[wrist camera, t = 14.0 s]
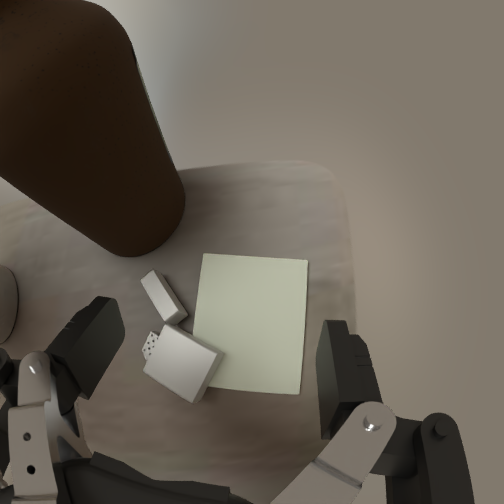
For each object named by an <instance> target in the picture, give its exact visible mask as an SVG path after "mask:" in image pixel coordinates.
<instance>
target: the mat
mask: <svg viewBox="0 0 504 504" xmlns="http://www.w3.org/2000/svg"><path fill="white" fill-rule="evenodd" d="M307 265H308V260H297V259H281V258H266V257H251V256H237V255H222V254H207V253H204V254H203V260H202V267H201V274H200V281H199V289H198V296H197V304H196V312H195V320H194V328H193V336H194V337H196V338H198V339H200V340H202V341H203V342H205V343H207V344H209V345H211V346H213V347H215V348H216V349H218V350H220V351H222V352H224V355H223V357H222V359H221V361H220V363H219V365H218V367H217V369H216V371H215V373H214V375H213V377H212V379H211V381H210V383H209V385H208V386H209V387H216V388H224V389H232V390H241V391H252V392H264V393H278V394H299V391H300V380H301V369H302V357H303V344H304V329H305V312H306V292H307Z"/></svg>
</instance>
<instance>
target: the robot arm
mask: <svg viewBox="0 0 504 504" xmlns="http://www.w3.org/2000/svg"><path fill="white" fill-rule="evenodd" d="M17 304H18V294H17V286H16V282H15V278H14V276H13V274H12V273H11V271H10V270H9V269H8V268H6V267H4V266H2V265H0V343H3V342H4V341H5V340H6V339H7V338H8V336H9V335H10V333H11V331H12V329H13V326H14V323H15V318H16V314H17ZM124 337H125V328H124V325H123V321H122V318H121V314H120V311H119V307H118V304H117V301H116V300H115V299H114V298H108V297H102V296H97V297H96V298H95V299H94V300H93V301H92V302H91V303H90V304H89V306H86V307H85V308H83V309H82V310H80V311H78V312H77V313H76V314H75V315H74V316H73V318H72V319H71V320H70V322H68V323H67V325H66V326H65V329H62V331H61V332H60V333H59V334H58V335H57V337H56V338H55V339H54V340H53V342H52V343H51V344H50V345H49V346H48V348H47V349H46V350H45V351H44V352H43V351H34V352H31V353H29V354H28V355H26V356H25V357H24V358H23V359H22V360H14V359H10V357H9V355H8V354H7V352H6V351H5V350H4V349H2V348H0V392H1V393H2V394H3V396H4V397H5V398H6V401H5V403H4V404H3V406H2V408H1V409H0V504H253V503H251V502H249V501H247V500H246V499H243V498H241V497H239V496H237V495H234V494H231V493H230V487H225V486H218V485H212V484H206V483H200V482H195V481H159V480H153V479H151V478H149V477H147V476H145V475H143V474H142V473H140V472H138V471H137V470H135V469H133V468H132V467H130V466H128V465H127V464H125V463H124V462H121V461H118V460H116V459H113V458H110V457H108V456H105V455H103V454H100V453H98V452H94V454H93V455H92V453H91V451H90V450H89V448H88V446H87V444H86V441H85V437H84V433H83V428H82V424H81V419H80V414H79V408H78V404H77V402H76V399H77V397H78V396H79V397H82V398H85V399H87V400H89V399H90V397H91V395H92V393H93V392H94V390H95V388H96V386H97V385H98V383H99V381H100V379H101V378H102V376H103V374H104V372H105V371H106V369H107V367H108V366H109V364H110V362H111V361H112V359H113V357H114V356H115V354H116V352H117V351H118V349H119V348H120V346H121V344H122V343H123V340H124ZM316 373H317V384H318V396H319V410H320V425H321V439H331V441H330V442H329V444H328V445H327V446H326V447H325V448H324V450H323V451H322V452H321V453H320V454H319V456H318V457H317V458H316V459H314V460H313V461H311V462H310V463H309V464H308V466H307V467H306V468H305V469H304V470H303V471H302V472H301V473H300V474H299V475H298V476H297V477H296V478H295V479H294V480H293V481H292V482H291V483H290V484H289V485H288V486H287V487H286V488H285V489H284V490H283V491H282V492H281V493H280V494H279V495H278V496H277V497H276V498H275V499H274V500H273V501H272V502H271V503H270V504H351V503H352V501H353V500H354V499H355V497H356V496H357V494H358V493H359V491H360V489H361V487H362V483H363V481H364V479H365V478H366V477H367V475H368V474H369V473H372V474H379V475H385V480H386V498H387V504H475V503H474V496H473V490H472V484H471V479H470V474H469V469H468V465H467V461H466V456H465V452H464V448H463V444H462V440H461V437H460V433H459V430H458V426H457V424H456V422H455V421H454V420H453V419H452V418H451V417H450V416H448V415H446V414H444V413H433V414H430V415H429V416H427V417H426V418H425V419H424V420H423V421H415V420H409V419H403V418H400V417H397V416H395V414H394V413H393V411H392V410H391V409H390V408H389V407H388V406H386V405H384V404H383V402H382V398H381V395H380V391H379V387H378V383H377V379H376V376H375V372H374V369H373V367H372V361H371V358H370V355H369V351H368V348H367V345H366V343H365V342H364V341H363V340H362V339H361V338H360V336H359V335H349V331H348V327H347V324H346V321H345V320H325V321H324V323H323V327H322V331H321V335H320V340H319V344H318V348H317V353H316ZM9 462H10V463H11V470H12V478H13V485H10V486H8V484H7V482H6V481H4V480H3V476H4V473H5V471H6V469H7V466H8V464H9Z"/></svg>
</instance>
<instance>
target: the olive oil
mask: <svg viewBox="0 0 504 504" xmlns="http://www.w3.org/2000/svg"><path fill="white" fill-rule="evenodd" d="M0 177H2V178H3V179H5V180H6V181H7V182H9V183H10V184H11V185H13V186H14V187H15V188H17V189H18V190H20V191H21V192H22V193H24V194H25V195H27V196H28V197H29V198H31V199H32V200H34V201H35V202H36V203H38V204H39V205H41V206H42V207H44V208H45V209H46V210H48V211H49V212H51V213H52V214H54V215H55V216H57V217H58V218H60V219H61V220H63V221H64V222H66V223H67V224H69V225H70V226H72V227H73V228H75V229H76V230H78V231H79V232H81V233H82V234H84V235H85V236H86V237H88V238H89V239H91V240H92V241H94V242H95V243H97V244H98V245H100V246H101V247H103V248H104V249H106V250H108V251H109V252H111V253H113V254H116V255H119V256H125V257H132V256H138V255H142V254H145V253H148V252H150V251H152V250H154V249H155V248H157V247H158V246H160V245H161V244H162V243H163V242H165V241H166V240H167V239H168V238H169V237H170V235H171V234H172V233H173V232H174V230H175V229H176V227H177V226H178V224H179V222H180V220H181V218H182V215H183V211H184V207H185V193H184V188H183V185H182V183H181V180H180V178H179V176H178V173H177V171H176V169H175V166H174V164H173V161H172V158H171V156H170V153H169V151H168V148H167V146H166V143H165V140H164V138H163V135H162V132H161V129H160V127H159V124H158V121H157V119H156V116H155V113H154V110H153V107H152V105H151V102H150V99H149V96H148V93H147V90H146V87H145V84H144V81H143V78H142V75H141V72H140V68H139V65H138V62H137V59H136V56H135V52H134V49H133V46H132V43H131V41H130V39H129V37H128V35H127V33H126V31H125V29H124V28H123V27H122V25H121V24H120V23H119V22H118V21H117V19H116V18H115V17H114V16H113V15H112V14H111V13H110V12H109V11H107V10H106V9H105V8H103V7H101V6H99V5H97V4H95V3H92V2H88V1H84V0H0Z"/></svg>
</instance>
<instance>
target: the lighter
mask: <svg viewBox="0 0 504 504" xmlns="http://www.w3.org/2000/svg"><path fill="white" fill-rule="evenodd" d="M140 281H141V283H142V285H143V286H144V288H145V290H146V292H147V293H148V295H149V297H150V298H151V300H152V302H153V303H154V305H155V307H156V308H157V310H158V312H159V313H160V315H161V317H162V318H163V320H164V321H165V322H166V324H165V325H164V327H163V329H162V331H161V333H159V332H156V331H151V332H150V334H149V336H148V338H147V340H146V342H145V344H144V346H143V349H142V351H143V354H144V358H145V360H146V361H147V363H146V365H145V367H144V369H143V372H144V373H145V374H147V375H148V376H150V377H151V378H152V379H154V380H155V381H157V382H158V383H160V384H161V385H163V386H164V387H166V388H167V389H169V390H170V391H172V392H173V393H175V394H177V395H178V396H180V397H181V398H183V399H185V400H186V401H188V402H190V403H191V404H194V403H196V402H199V401H200V400H201V399H202V397H203V395H204V393H205V391H206V389H207V387H208V385H209V383H210V381H211V379H212V377H213V375H214V373H215V371H216V369H217V367H218V365H219V363H220V361H221V359H222V357H223V355H224V352H222V351H220V350H218V349H216V348H215V347H213V346H211V345H209V344H207V343H205V342H203V341H202V340H200V339H198V338H196V337H194V336H193V335H191V334H189V333H187V332H186V331H184V330H182V329H180V328H179V327H177V326H175V325H176V324H177V323H179V322H180V321H181V320H183V319H184V318H185V317H186V316H188V313H187V312H186V311H185V309H184V308H183V306H182V305H181V303H180V302H179V300H178V299H177V297H176V295H175V294H174V292H173V291H172V289H171V288H170V286H169V285H168V283H167V282H166V280H165V278H164V277H163V275H162V274H160V273H159V272H157V271H156V270H154V269H152V270H151V271H150V272H149V273H147V274H146V275H145V276H144V277H143V278H142V279H140Z"/></svg>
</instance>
